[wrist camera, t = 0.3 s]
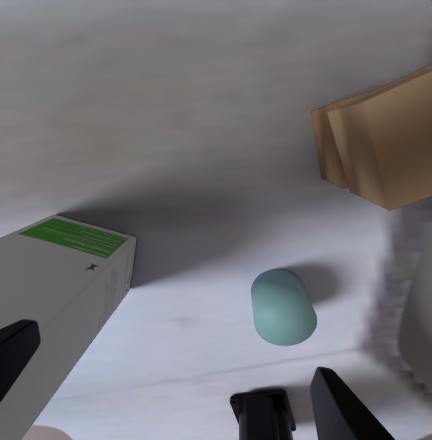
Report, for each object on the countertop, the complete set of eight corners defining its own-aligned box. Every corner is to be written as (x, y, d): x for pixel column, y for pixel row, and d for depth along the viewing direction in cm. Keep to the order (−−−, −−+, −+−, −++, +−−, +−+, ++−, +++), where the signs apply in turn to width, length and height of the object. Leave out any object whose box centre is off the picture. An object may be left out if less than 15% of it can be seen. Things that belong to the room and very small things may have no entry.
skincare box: (139, 236, 21) (-77, 459, 6) (130, 294, 23) (-45, 555, 9) (49, 212, 21) (-375, 383, 6) (49, 272, 23) (-264, 500, 9)
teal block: (306, 306, 22) (321, 340, 19) (257, 315, 23) (261, 349, 19) (297, 263, 21) (311, 291, 17) (245, 274, 22) (247, 303, 18)
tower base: (390, 159, 17) (432, 165, 14) (321, 178, 18) (343, 188, 14) (385, 87, 16) (431, 72, 12) (310, 111, 17) (332, 103, 13)
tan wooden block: (438, 157, 13) (516, 165, 10) (350, 191, 15) (389, 210, 11) (423, 67, 12) (508, 36, 8) (327, 112, 13) (363, 102, 9)
